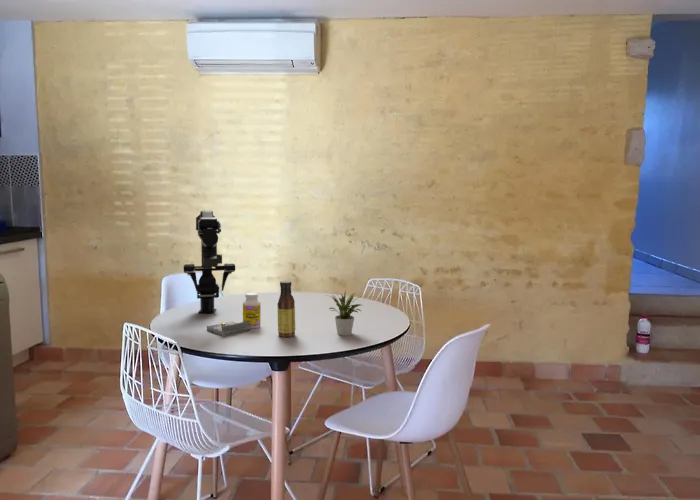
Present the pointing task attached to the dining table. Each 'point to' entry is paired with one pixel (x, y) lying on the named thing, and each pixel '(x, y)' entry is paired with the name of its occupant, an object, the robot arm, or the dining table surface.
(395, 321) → the dining table surface
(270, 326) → the dining table surface
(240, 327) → the coupler plate
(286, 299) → the sauce bottle
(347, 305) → the house plant
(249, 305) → the supplement bottle
